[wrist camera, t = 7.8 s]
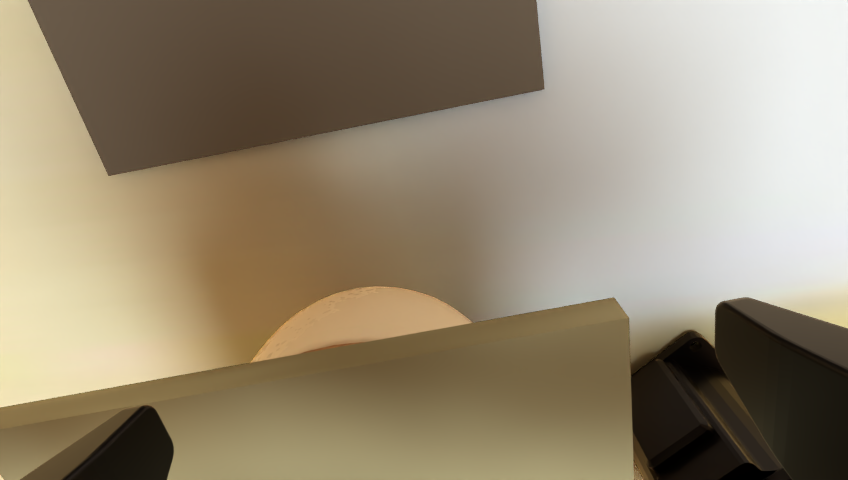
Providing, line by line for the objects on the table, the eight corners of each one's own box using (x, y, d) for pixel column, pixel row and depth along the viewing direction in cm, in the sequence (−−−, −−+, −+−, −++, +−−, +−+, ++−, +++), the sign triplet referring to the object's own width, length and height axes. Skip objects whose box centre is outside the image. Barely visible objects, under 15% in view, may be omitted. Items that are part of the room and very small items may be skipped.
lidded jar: (209, 335, 22) (82, 539, 14) (405, 190, 20) (401, 328, 11) (368, 476, 26) (347, 707, 17) (550, 368, 23) (632, 575, 15)
